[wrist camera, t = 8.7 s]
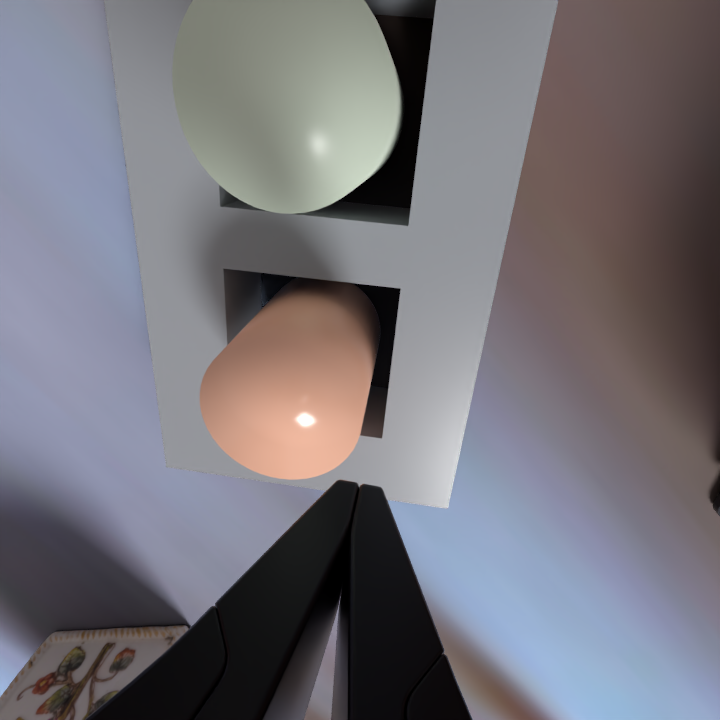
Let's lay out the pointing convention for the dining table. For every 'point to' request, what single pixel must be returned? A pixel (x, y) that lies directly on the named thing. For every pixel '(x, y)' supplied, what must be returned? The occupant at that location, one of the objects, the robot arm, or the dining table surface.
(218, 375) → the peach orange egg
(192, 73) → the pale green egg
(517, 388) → the dining table surface
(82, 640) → the decorative jar
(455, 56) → the grey holder tray
